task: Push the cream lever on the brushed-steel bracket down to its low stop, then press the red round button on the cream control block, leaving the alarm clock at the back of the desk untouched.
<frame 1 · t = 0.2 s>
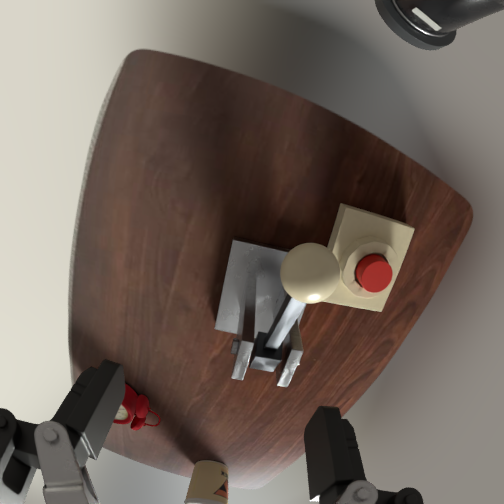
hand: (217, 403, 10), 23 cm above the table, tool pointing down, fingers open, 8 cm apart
cream tin can: (211, 466, 51), on the table
lever: (284, 320, 20), point 13 cm above the table, hinge at 25.0°
control block: (360, 257, 32), on the table
bracket: (264, 292, 34), on the table
alarm clock: (124, 396, 43), on the table
button: (374, 273, 28), point 5 cm above the table, slide at 0.1 cm
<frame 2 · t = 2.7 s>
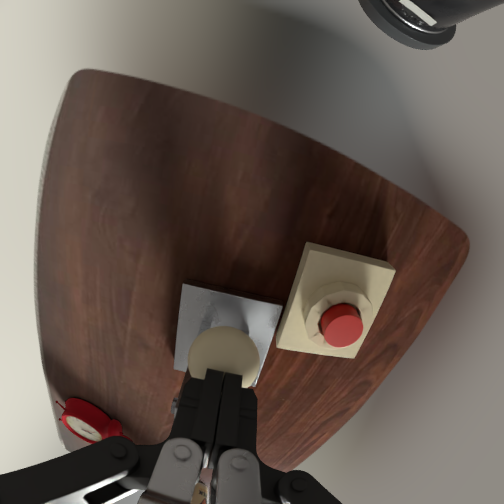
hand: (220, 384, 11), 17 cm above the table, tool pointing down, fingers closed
cream tin can: (191, 484, 48), on the table
lever: (214, 394, 16), point 13 cm above the table, hinge at 21.6°
control block: (331, 300, 28), on the table
bracket: (223, 335, 30), on the table
alarm clock: (99, 418, 39), on the table
button: (341, 325, 24), point 5 cm above the table, slide at 0.1 cm
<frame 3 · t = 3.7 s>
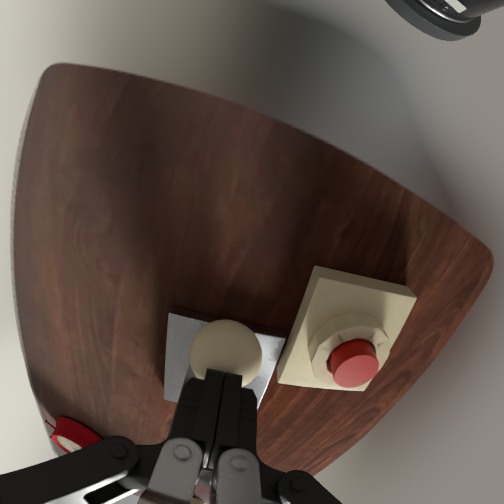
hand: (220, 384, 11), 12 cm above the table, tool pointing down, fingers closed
cream tin can: (188, 499, 43), on the table
lever: (209, 422, 14), point 11 cm above the table, hinge at -4.2°, touching gripper
control block: (341, 330, 24), on the table
bracket: (217, 367, 26), on the table
alarm clock: (90, 437, 35), on the table
button: (353, 364, 20), point 5 cm above the table, slide at 0.1 cm
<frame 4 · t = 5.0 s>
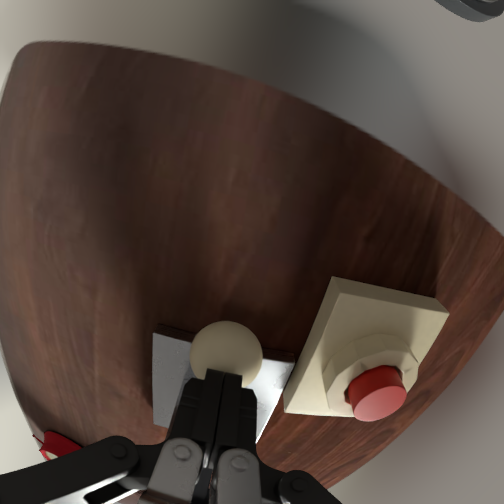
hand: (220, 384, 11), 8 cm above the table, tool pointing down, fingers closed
lever: (206, 447, 12), point 8 cm above the table, hinge at -28.0°
control block: (359, 350, 19), on the table
bracket: (213, 392, 21), on the table
alarm clock: (81, 452, 31), on the table
button: (376, 394, 15), point 5 cm above the table, slide at 0.1 cm
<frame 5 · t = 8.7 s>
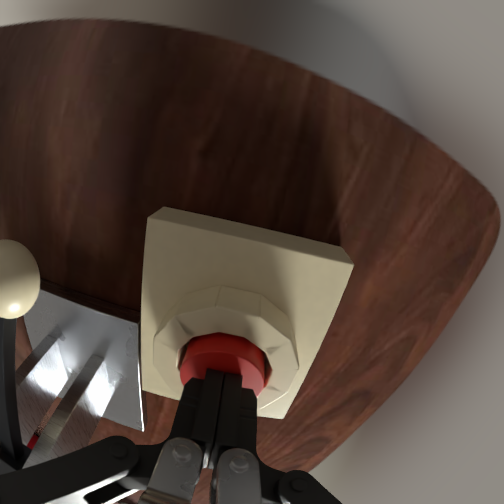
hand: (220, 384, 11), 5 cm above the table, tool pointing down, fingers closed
lever: (3, 388, 8), point 8 cm above the table, hinge at -28.0°
control block: (231, 320, 15), on the table
bracket: (85, 357, 17), on the table
button: (223, 367, 12), point 4 cm above the table, slide at -0.7 cm, touching gripper
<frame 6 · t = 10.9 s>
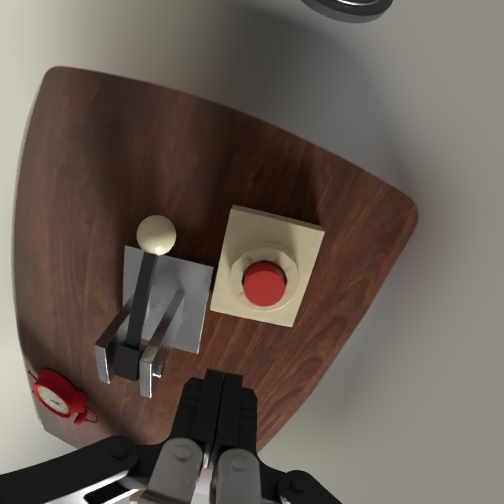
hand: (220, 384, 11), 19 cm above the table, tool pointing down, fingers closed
cream tin can: (159, 468, 49), on the table
lever: (141, 297, 22), point 8 cm above the table, hinge at -28.0°
control block: (264, 264, 30), on the table
bracket: (165, 299, 32), on the table
alarm clock: (68, 391, 40), on the table
button: (264, 284, 26), point 5 cm above the table, slide at 0.1 cm
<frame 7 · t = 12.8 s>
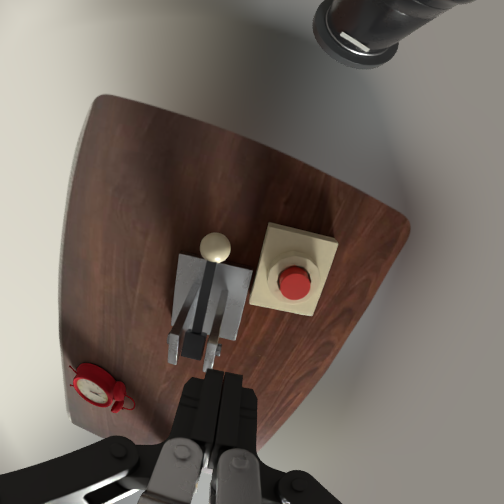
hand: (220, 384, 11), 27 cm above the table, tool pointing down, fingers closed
lever: (204, 295, 31), point 8 cm above the table, hinge at -28.0°
control block: (291, 268, 38), on the table
bracket: (209, 296, 40), on the table
alarm clock: (105, 383, 49), on the table
button: (294, 283, 34), point 5 cm above the table, slide at 0.1 cm
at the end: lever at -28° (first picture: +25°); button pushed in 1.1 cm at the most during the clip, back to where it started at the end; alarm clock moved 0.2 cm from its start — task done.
